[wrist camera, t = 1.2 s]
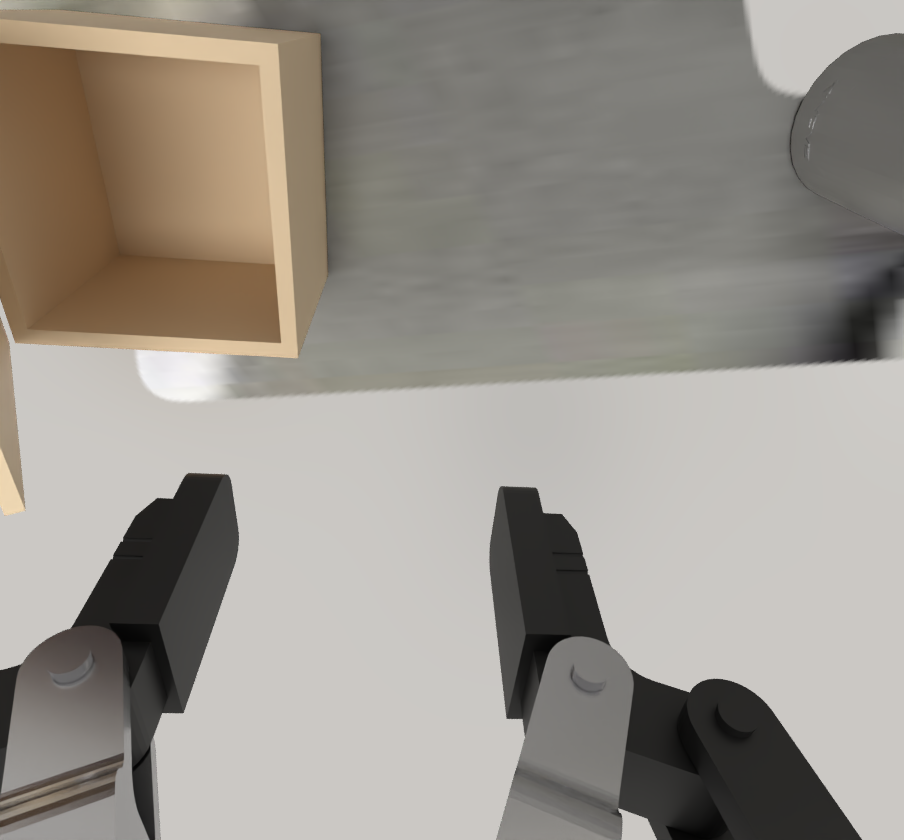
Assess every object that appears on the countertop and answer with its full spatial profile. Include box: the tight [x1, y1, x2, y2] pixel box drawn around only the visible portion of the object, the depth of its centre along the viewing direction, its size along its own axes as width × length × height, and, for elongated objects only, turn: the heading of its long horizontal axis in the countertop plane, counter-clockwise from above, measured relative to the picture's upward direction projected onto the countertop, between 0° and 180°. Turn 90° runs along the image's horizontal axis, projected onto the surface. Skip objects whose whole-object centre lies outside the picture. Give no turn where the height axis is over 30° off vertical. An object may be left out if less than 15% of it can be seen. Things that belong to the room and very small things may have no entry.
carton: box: [0, 10, 328, 358], centre depth 33 cm, size 14×14×12 cm
